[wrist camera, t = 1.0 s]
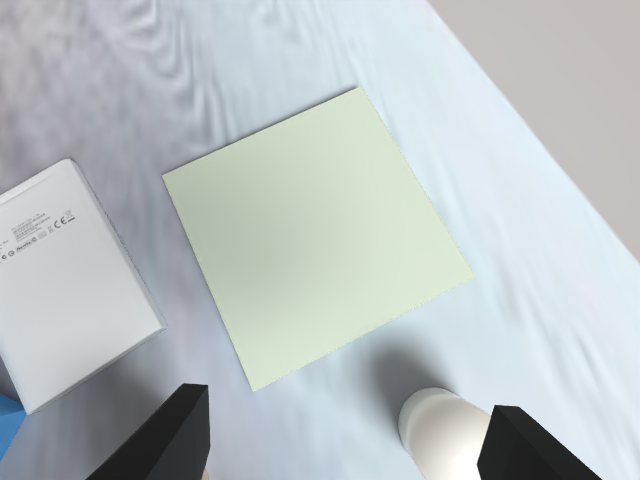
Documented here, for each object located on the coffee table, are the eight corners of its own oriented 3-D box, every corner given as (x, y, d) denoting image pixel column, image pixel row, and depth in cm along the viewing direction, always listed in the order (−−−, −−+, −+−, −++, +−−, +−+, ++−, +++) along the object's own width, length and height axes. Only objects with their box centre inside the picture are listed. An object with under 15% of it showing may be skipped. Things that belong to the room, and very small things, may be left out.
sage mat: (255, 390, 20) (253, 392, 19) (165, 179, 23) (161, 175, 22) (471, 278, 21) (476, 276, 20) (360, 91, 24) (361, 85, 23)
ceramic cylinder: (421, 482, 19) (447, 524, 15) (384, 408, 20) (400, 430, 16) (486, 444, 19) (528, 476, 15) (448, 374, 20) (478, 387, 16)
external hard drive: (46, 409, 20) (-35, 233, 23) (173, 326, 21) (82, 166, 24) (23, 417, 19) (-61, 227, 21) (161, 327, 20) (65, 155, 22)
